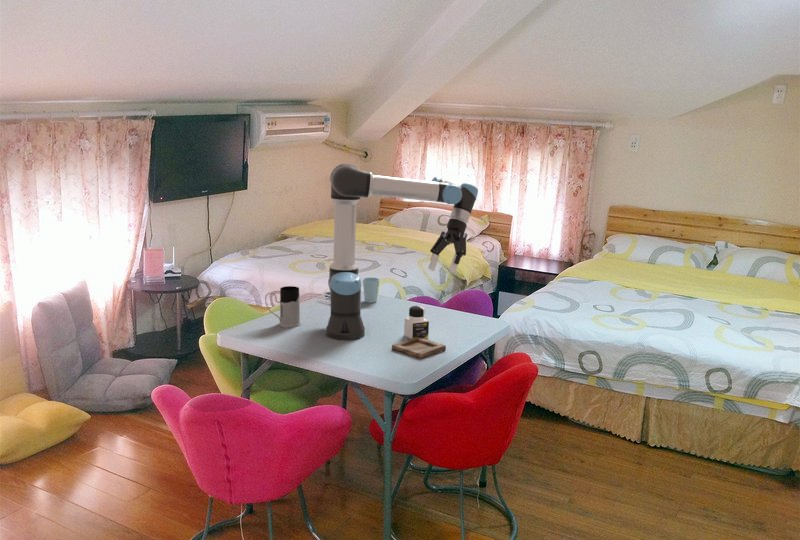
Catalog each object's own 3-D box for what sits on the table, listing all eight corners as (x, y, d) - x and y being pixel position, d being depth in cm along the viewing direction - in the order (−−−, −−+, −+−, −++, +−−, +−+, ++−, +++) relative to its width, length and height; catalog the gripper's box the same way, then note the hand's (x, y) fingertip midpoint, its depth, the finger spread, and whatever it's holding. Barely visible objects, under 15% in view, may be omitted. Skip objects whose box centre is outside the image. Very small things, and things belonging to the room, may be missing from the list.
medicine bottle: (412, 340, 268) (413, 310, 266) (403, 335, 275) (404, 305, 272) (428, 338, 272) (429, 308, 269) (419, 333, 278) (420, 303, 275)
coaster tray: (391, 349, 257) (392, 344, 257) (417, 341, 268) (417, 336, 267) (420, 359, 248) (420, 354, 248) (445, 350, 258) (445, 345, 258)
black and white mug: (302, 326, 282) (302, 290, 279) (267, 329, 277) (266, 292, 274) (298, 320, 290) (298, 285, 287) (263, 322, 285) (263, 287, 282)
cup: (378, 303, 319) (378, 281, 316) (361, 303, 319) (362, 281, 317) (379, 299, 326) (379, 277, 324) (363, 299, 326) (363, 277, 324)
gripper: (485, 225, 273) (468, 276, 269) (446, 225, 293) (429, 272, 290) (471, 217, 268) (454, 268, 265) (432, 217, 289) (416, 265, 286)
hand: (441, 270), depth 277 cm, fingers open, 13 cm apart
